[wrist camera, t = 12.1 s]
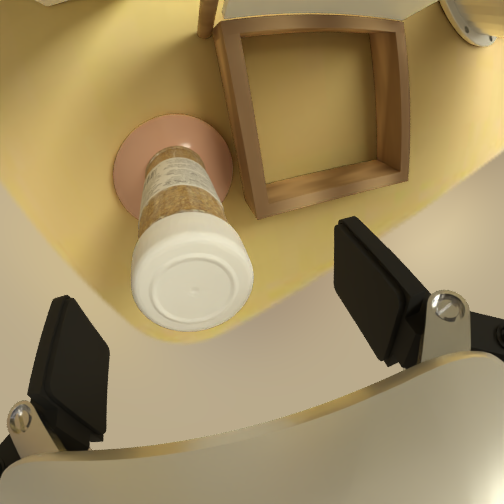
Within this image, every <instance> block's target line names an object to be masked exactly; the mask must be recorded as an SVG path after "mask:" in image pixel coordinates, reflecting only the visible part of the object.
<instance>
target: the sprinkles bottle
mask: <svg viewBox="0 0 504 504" xmlns="http://www.w3.org/2000/svg"><path fill="white" fill-rule="evenodd" d="M138 229H139V233H138V242H137V243H136V246H135V248H134V252H133V256H132V266H131V290H132V294H133V298H134V301H135V303H136V304H137V306H138V308H139V309H140V311H141V312H142V313H143V314H144V315H145V316H146V317H147V318H148V319H150V320H151V321H152V322H154V323H156V324H158V325H159V326H162V327H164V328H167V329H171V330H176V331H183V332H191V331H201V330H205V329H209V328H212V327H215V326H217V325H220V324H222V323H223V322H225V321H227V320H229V319H230V318H231V317H233V316H234V315H235V314H236V313H237V312H238V311H239V310H240V309H241V308H242V307H243V306H244V304H245V303H246V301H247V300H248V298H249V295H250V293H251V291H252V287H253V279H254V276H253V267H252V264H251V261H250V258H249V256H248V254H247V251H246V249H245V247H244V245H243V243H242V241H241V238H240V237H239V235H238V233H237V232H236V231H235V230H234V228H233V227H232V226H230V225H229V223H228V221H227V218H226V216H225V213H224V208H223V206H222V203H221V201H220V199H219V197H218V195H217V193H216V191H215V188H214V186H213V184H212V182H211V180H210V178H209V175H208V174H207V172H206V169H205V165H204V163H203V161H202V159H201V158H200V156H199V155H198V154H197V153H196V152H194V151H193V150H191V149H189V148H187V147H183V146H170V147H167V148H164V149H162V150H160V151H159V152H157V153H156V154H155V155H154V156H153V157H152V159H151V160H150V161H149V163H148V165H147V167H146V172H145V182H144V187H143V193H142V199H141V207H140V215H139V225H138Z"/></svg>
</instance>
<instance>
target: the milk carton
mask: <svg viewBox="0 0 504 504" xmlns="http://www.w3.org/2000/svg"><path fill="white" fill-rule="evenodd" d="M35 1H37V2H39V3H41V4H43V5H45V6H51V5H55V4H58V3H62V2H65V1H69V0H35Z"/></svg>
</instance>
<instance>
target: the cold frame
mask: <svg viewBox="0 0 504 504" xmlns="http://www.w3.org/2000/svg"><path fill="white" fill-rule="evenodd" d="M217 5H218V0H200V8H199V19H198V31H197V34H198V36H199V37H200V38H203V39H206V38H209V37H210V36H211V35H212V33H213V38H214V43H215V48H216V53H217V58H218V63H219V68H220V73H221V78H222V83H223V88H224V93H225V98H226V103H227V109H228V114H229V119H230V124H231V129H232V134H233V139H234V144H235V149H236V155H237V160H238V165H239V170H240V175H241V180H242V185H243V191H244V196H245V201H246V202H247V204H248V206H249V207H250V209H251V210H252V212H253V214H254V215H255V217H256V218H257V220H259V219H262V218H266V217H270V216H273V215H277V214H281V213H284V212H288V211H292V210H295V209H299V208H303V207H306V206H310V205H314V204H318V203H322V202H325V201H329V200H333V199H337V198H341V197H345V196H349V195H352V194H356V193H360V192H364V191H368V190H372V189H376V188H380V187H384V186H389V185H393V184H397V183H401V182H405V181H408V174H409V155H410V90H409V72H408V59H407V48H406V39H405V31H404V23H403V22H400V21H393V20H386V19H378V18H369V17H359V16H345V15H316V14H305V15H276V16H262V17H251V18H242V19H234V20H226V21H220V22H219V23H218V24H217V25H216V26H215V27H214V28H213V25H214V20H215V15H216V10H217ZM300 32H353V33H369V36H370V44H371V53H372V62H373V73H374V85H375V100H376V121H377V160H372V161H367V162H362V163H357V164H352V165H347V166H342V167H337V168H333V169H328V170H323V171H319V172H314V173H310V174H306V175H301V176H297V177H293V178H289V179H285V180H280V181H276V182H272V183H268V184H266V183H265V177H264V170H263V164H262V158H261V152H260V146H259V139H258V133H257V127H256V122H255V116H254V110H253V104H252V98H251V93H250V87H249V81H248V76H247V70H246V65H245V59H244V54H243V48H242V43H241V38H244V37H251V36H260V35H270V34H283V33H300Z"/></svg>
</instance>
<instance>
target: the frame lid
mask: <svg viewBox="0 0 504 504" xmlns="http://www.w3.org/2000/svg"><path fill="white" fill-rule="evenodd" d="M437 1H439V0H224V4H223V8H222V15H223V18H224V19H229V18H236V17H245V16H254V15H266V14H284V13H335V14H352V15H363V16H373V17H381V18H389V19H395V20H404V19H406V18H408V17H409V16H411V15H413V14H415V13H416V12H418V11H420V10H422V9H424V8H425V7H427V6H429V5H431V4H433V3H435V2H437Z"/></svg>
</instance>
